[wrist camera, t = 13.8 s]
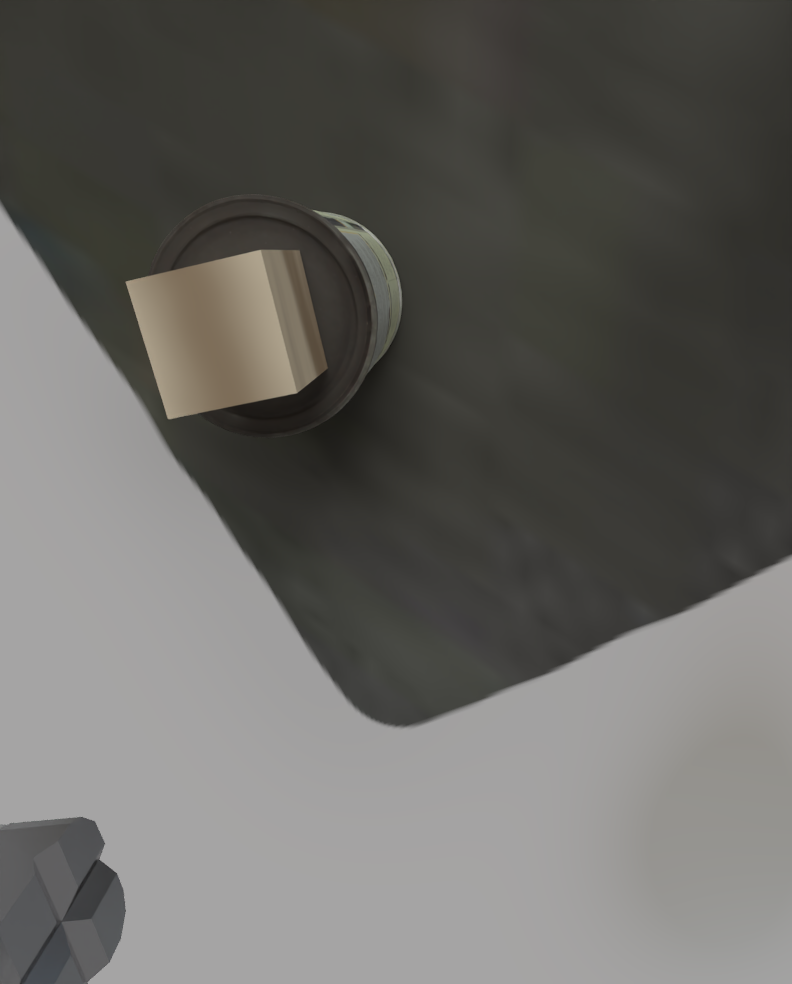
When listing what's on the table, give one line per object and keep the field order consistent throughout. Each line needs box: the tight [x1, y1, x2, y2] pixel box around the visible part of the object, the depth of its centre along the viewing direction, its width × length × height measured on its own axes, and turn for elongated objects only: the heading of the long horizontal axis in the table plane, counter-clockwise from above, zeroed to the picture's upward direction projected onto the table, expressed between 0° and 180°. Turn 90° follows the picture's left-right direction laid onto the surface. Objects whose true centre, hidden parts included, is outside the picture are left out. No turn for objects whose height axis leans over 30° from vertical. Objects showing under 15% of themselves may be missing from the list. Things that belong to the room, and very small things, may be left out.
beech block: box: [126, 250, 328, 419], centre depth 29 cm, size 5×5×6 cm
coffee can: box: [148, 194, 402, 438], centre depth 39 cm, size 10×10×14 cm
